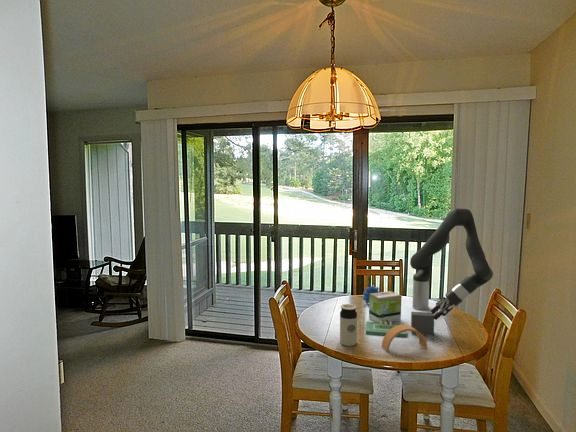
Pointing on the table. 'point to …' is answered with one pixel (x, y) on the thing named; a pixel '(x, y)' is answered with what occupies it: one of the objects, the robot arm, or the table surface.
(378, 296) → the tea box
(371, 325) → the board
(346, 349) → the table surface
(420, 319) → the block
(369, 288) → the grapes
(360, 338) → the table surface
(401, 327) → the arch
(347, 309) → the travel mug
